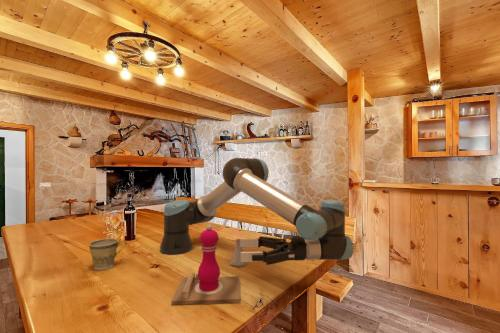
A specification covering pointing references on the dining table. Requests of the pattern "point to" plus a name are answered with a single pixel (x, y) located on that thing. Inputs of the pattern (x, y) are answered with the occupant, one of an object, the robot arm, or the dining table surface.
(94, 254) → the ceramic cup
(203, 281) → the pepper mill
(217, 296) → the jig board
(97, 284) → the dining table surface
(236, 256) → the flask
